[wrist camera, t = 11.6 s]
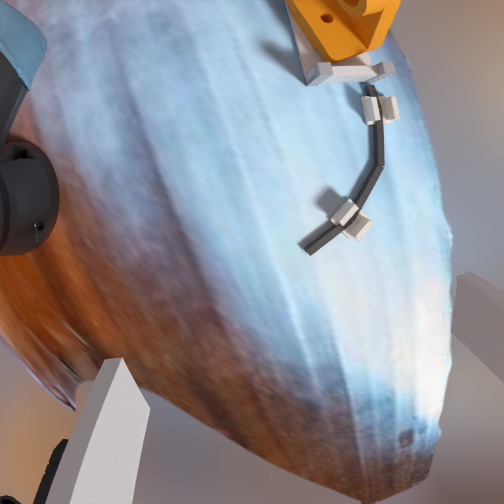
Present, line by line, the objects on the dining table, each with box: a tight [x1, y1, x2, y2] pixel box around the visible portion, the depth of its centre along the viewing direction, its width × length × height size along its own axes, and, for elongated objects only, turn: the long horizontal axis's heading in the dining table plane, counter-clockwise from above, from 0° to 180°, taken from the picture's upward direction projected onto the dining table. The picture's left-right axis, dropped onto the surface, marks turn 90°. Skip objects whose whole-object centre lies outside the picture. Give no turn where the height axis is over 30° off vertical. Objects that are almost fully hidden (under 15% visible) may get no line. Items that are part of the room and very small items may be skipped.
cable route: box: [305, 85, 400, 256], centre depth 34 cm, size 6×23×3 cm, turn 160°
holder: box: [284, 0, 396, 86], centre depth 26 cm, size 9×17×6 cm, turn 11°
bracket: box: [285, 0, 401, 64], centre depth 23 cm, size 11×7×12 cm, turn 28°
